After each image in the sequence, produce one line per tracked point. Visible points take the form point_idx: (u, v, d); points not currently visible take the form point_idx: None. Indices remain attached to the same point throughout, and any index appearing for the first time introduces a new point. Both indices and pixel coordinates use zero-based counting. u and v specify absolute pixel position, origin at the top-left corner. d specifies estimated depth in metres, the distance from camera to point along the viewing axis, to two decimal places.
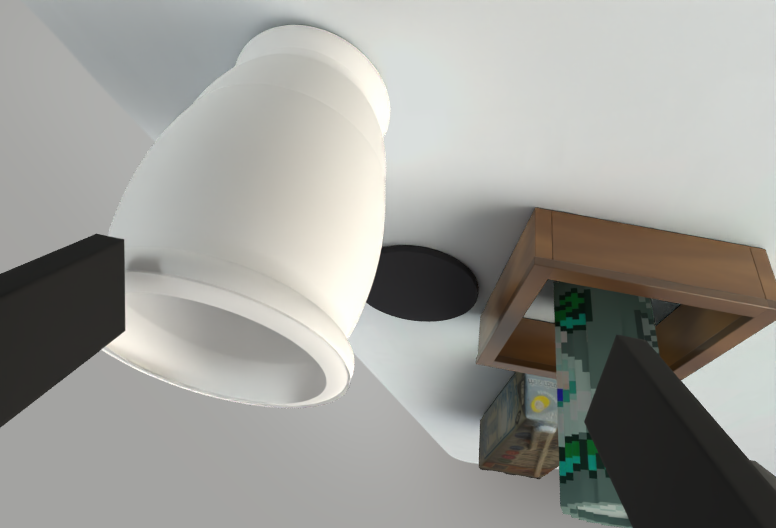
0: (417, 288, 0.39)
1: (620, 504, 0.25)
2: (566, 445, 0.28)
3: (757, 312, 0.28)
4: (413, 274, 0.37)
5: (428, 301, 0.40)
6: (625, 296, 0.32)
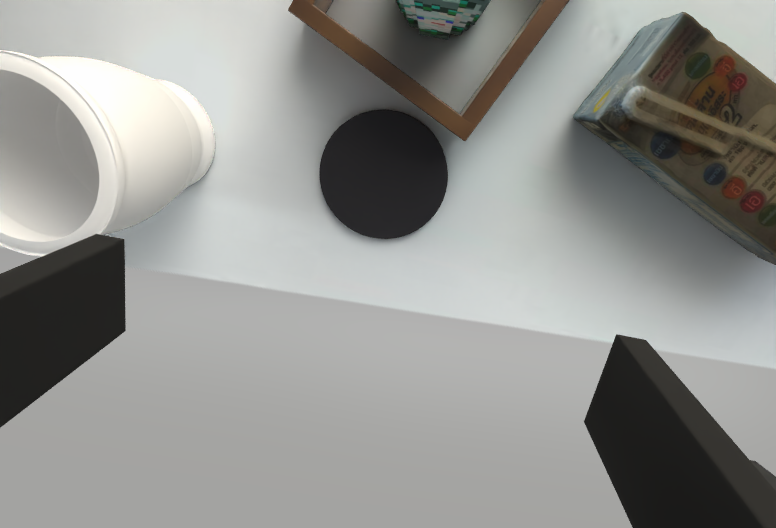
0: (382, 171, 0.38)
1: None
2: None
3: None
4: (358, 164, 0.38)
5: (406, 172, 0.38)
6: None
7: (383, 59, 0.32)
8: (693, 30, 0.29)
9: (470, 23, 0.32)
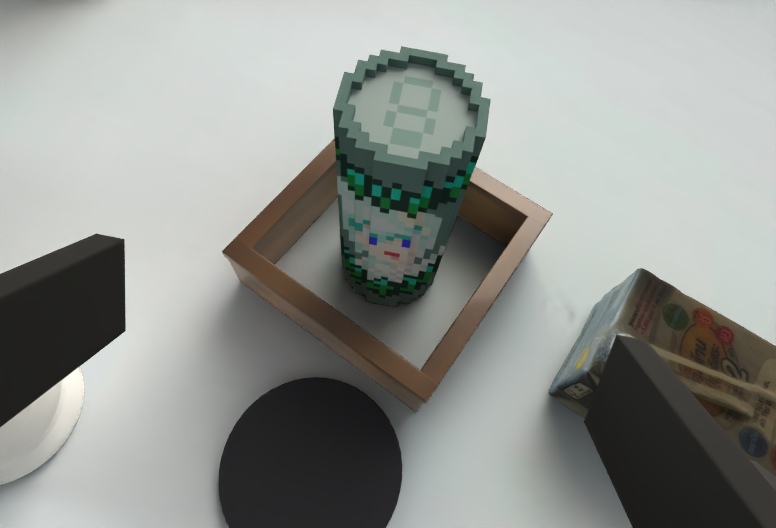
0: (310, 460, 0.27)
1: (343, 91, 0.20)
2: (355, 191, 0.21)
3: None
4: (277, 449, 0.27)
5: (344, 461, 0.27)
6: None
7: (325, 304, 0.27)
8: (657, 283, 0.27)
9: (423, 277, 0.29)
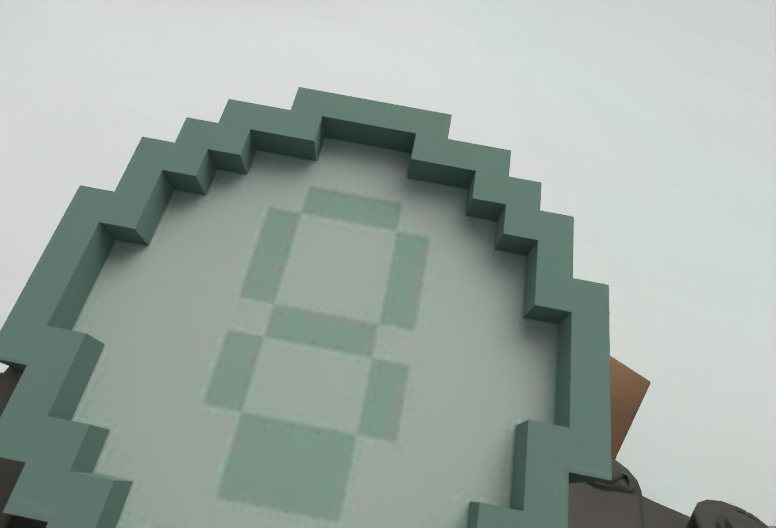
0: None
1: (52, 268, 0.05)
2: None
3: None
4: None
5: None
6: None
7: None
8: None
9: None
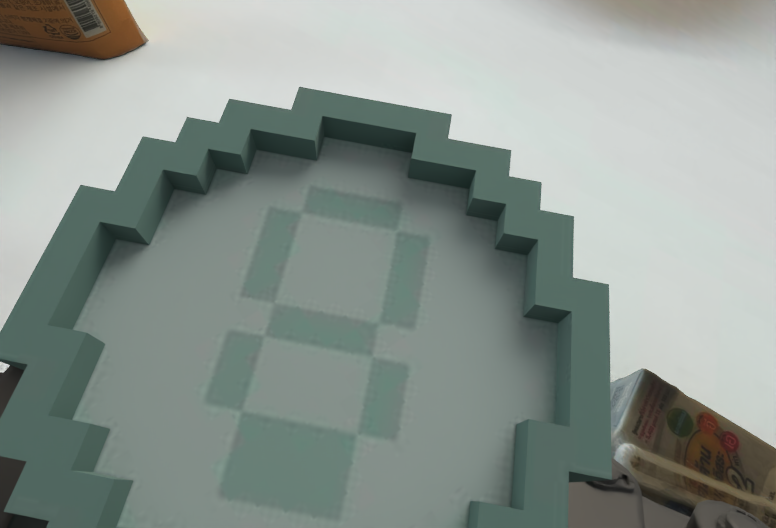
0: None
1: (53, 267, 0.05)
2: None
3: None
4: None
5: None
6: None
7: None
8: (660, 385, 0.27)
9: None
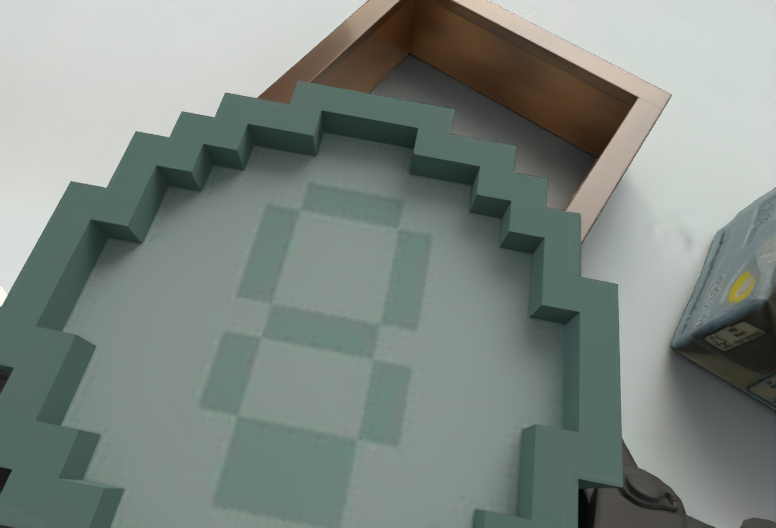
0: None
1: (42, 267, 0.05)
2: None
3: None
4: None
5: None
6: None
7: None
8: None
9: None
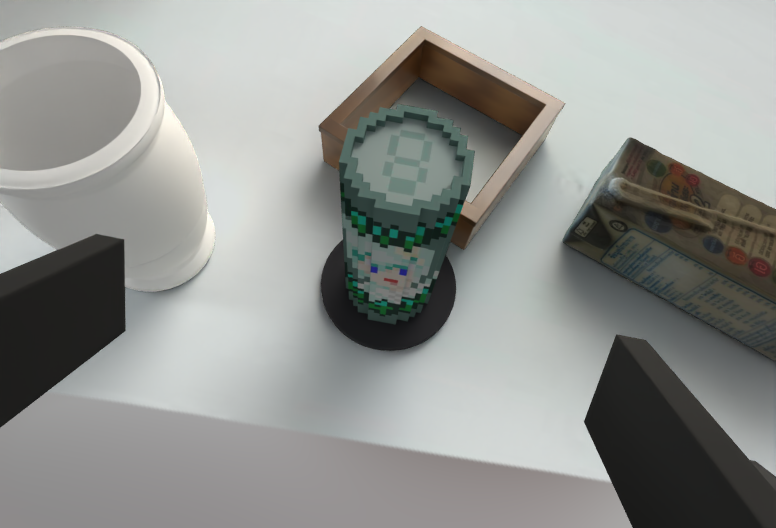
0: None
1: (347, 145, 0.23)
2: (358, 229, 0.25)
3: (418, 37, 0.42)
4: None
5: None
6: None
7: None
8: (642, 146, 0.36)
9: (419, 298, 0.32)
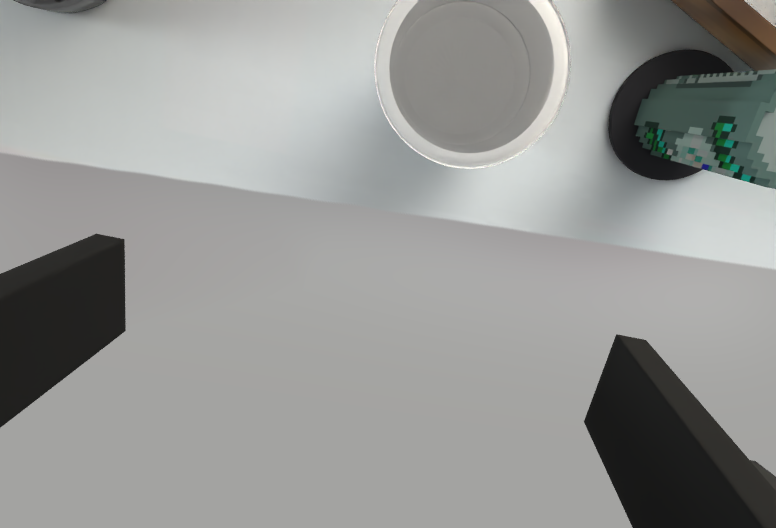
0: None
1: (756, 123, 0.25)
2: (723, 167, 0.29)
3: None
4: None
5: None
6: (663, 93, 0.37)
7: None
8: None
9: None
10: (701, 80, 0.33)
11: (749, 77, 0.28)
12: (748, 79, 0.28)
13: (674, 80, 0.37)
